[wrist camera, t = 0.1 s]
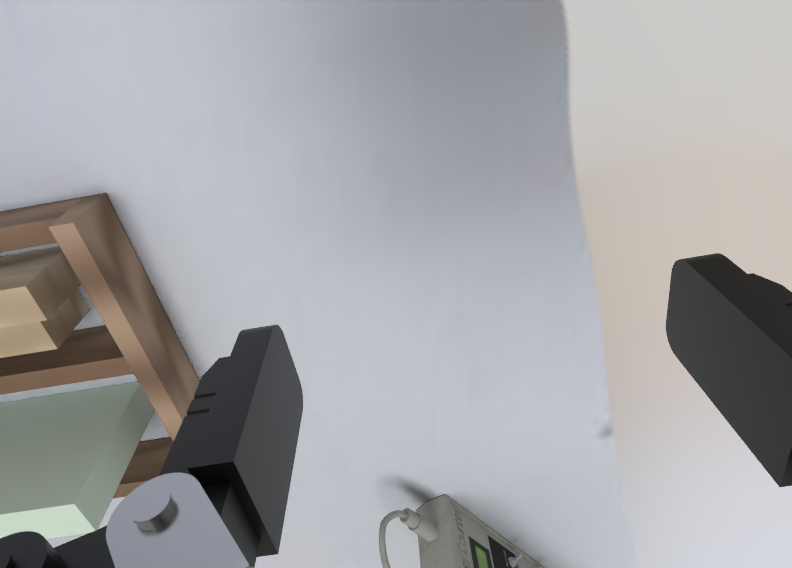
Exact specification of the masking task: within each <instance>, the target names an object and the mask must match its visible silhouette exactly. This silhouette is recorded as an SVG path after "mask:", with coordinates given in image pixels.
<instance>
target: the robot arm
mask: <svg viewBox="0 0 792 568" xmlns="http://www.w3.org/2000/svg"><path fill="white" fill-rule="evenodd" d="M666 332H667V337H668V341H669V344H670V347H671V349H672V351H673V353H674V354H675V355H676V357H677V358H678V359H679V361H680V362H681V363H682V364H683V366H684V367H685V368H686V369H687V371H688V372H689V373H690V375H691V376H692V377H693V378H694V380H695V381H696V382H697V383H698V384H699V386H700V387H701V388H702V390H703V391H704V392H705V393H706V395H707V396H708V397H709V398H710V400H711V401H712V402H713V404H714V405H715V406H716V407H717V408H718V410H719V411H720V412H721V414H722V415H723V416H724V417H725V419H726V420H727V421H728V422H729V424H730V425H731V426H732V427H733V429H734V430H735V431H736V432H737V434H738V435H739V436H740V437H741V439H742V440H743V441H744V442H745V444H746V445H747V446H748V448H749V449H750V450H751V451H752V453H753V454H754V455H755V456H756V458H757V459H758V460H759V461H760V463H761V464H762V465H763V466H764V468H765V469H766V470H767V472H768V473H769V474H770V475H771V477H772V478H773V479H774V480H775V482H776V483H777V484H778V485H779V487H784V486H791V485H792V292H790V291H789V290H788V289H786V288H785V287H784V286H783V285H780V284H778V283H775V282H773V281H770V280H768V279H765V278H763V277H761V276H758V275H755V274H747V273H745V272H744V271H743V270H742V269H740V268H739V267H738V266H737V265H735V264H734V263H733V262H732V261H730V260H729V259H728V258H727V257H725V256H724V255H722V254H717V253H716V254H711V255H704V256H698V257H692V258H686V259H681V260H677V261H676V262H675V263H674V265H673V268H672V274H671V283H670V292H669V301H668V311H667V320H666ZM302 411H303V395H302V388H301V384H300V380H299V377H298V374H297V371H296V368H295V366H294V363H293V360H292V357H291V354H290V351H289V348H288V346H287V343H286V340H285V337H284V334H283V332H282V330H281V328H280V327H279V326H278V325H271V326H265V327H259V328H253V329H247V330H242V331H241V332H240V333H239V335H238V338H237V340H236V343H235V345H234V348H233V350H232V353H231V356H230V357H224V358H219V359H218V360H217V361H216V362H215V363H214V364H213V365H212V367H211V368H210V369H209V370H208V371H207V372H206V373H205V374H204V375H203V376H202V378H201V380H200V383H199V385H198V387H197V389H196V392H195V394H194V400H192V401H191V403H190V405H189V408H188V410H187V416H185V417H184V419H183V421H182V424H181V426H180V428H179V431H178V433H177V435H176V437H175V440H174V442H173V444H172V447H171V449H170V451H169V453H168V456H167V458H166V460H165V463H164V465H163V467H162V469H161V472H160V474H159V476H158V477H155V478H153V479H151V480H149V481H147V482H145V483H143V484H142V485H140V486H139V487H137V488H136V489H134V490H133V491H132V492H131V493H130V494H128V495H127V496H126V497H125V498H124V499H123V500H122V501H121V503H120V504H119V505H118V506H117V508H116V509H115V511H114V512H113V514H112V515H111V518H110V520H109V522H108V525H107V526H105V527H103V528H101V529H98V530H96V531H93V532H91V533H89V534H86V535H84V536H81V537H79V538H77V539H74V540H72V541H69V542H67V543H65V544H62V545H60V546H57V547H55V548H53V547H52V546H51V545H50V544H49V542H48V541H47V540H46V539H45V538H44V537H43V536H42V535H41V534H39V533H37V532H34V531H24V532H18V533H14V534H10V535H8V536H5V537H3V538H1V539H0V568H254V566H255V561H256V557H259V556H267V555H274V554H278V552H279V546H280V540H281V534H282V528H283V522H284V516H285V511H286V505H287V499H288V493H289V487H290V481H291V475H292V470H293V464H294V458H295V452H296V446H297V440H298V434H299V429H300V423H301V417H302Z"/></svg>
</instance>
